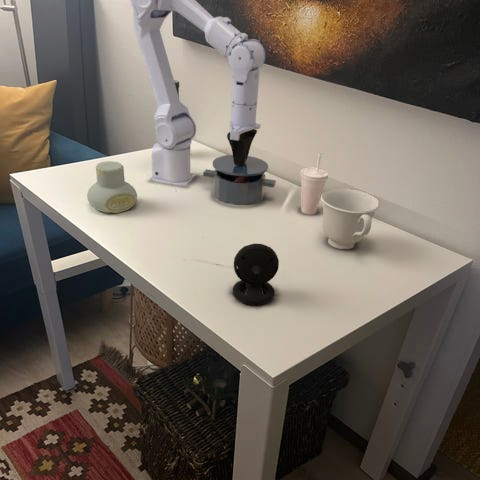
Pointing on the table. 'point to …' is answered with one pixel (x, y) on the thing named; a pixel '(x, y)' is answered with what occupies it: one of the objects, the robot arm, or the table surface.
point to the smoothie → (312, 187)
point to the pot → (238, 188)
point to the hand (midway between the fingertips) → (240, 162)
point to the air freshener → (111, 189)
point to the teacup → (347, 216)
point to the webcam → (255, 273)
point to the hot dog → (241, 179)
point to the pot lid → (248, 169)
